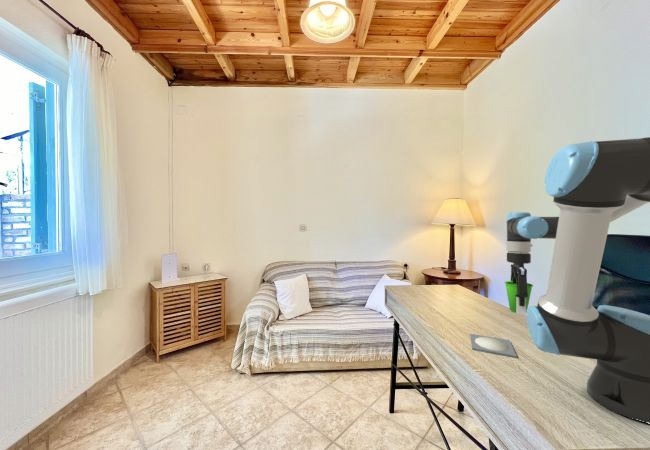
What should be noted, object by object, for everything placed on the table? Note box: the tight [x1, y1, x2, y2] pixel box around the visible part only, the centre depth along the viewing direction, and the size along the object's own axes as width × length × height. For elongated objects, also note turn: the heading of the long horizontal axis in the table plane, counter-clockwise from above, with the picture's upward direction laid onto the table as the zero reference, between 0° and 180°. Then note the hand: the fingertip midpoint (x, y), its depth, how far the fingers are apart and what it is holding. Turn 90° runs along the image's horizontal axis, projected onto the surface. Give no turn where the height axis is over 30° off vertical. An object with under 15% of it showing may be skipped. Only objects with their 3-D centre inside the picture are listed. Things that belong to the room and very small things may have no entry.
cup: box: [503, 280, 534, 314], centre depth 102 cm, size 9×9×11 cm
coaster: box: [469, 333, 518, 359], centre depth 97 cm, size 13×13×1 cm
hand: (518, 310), depth 102 cm, fingers closed on cup, 9 cm apart
